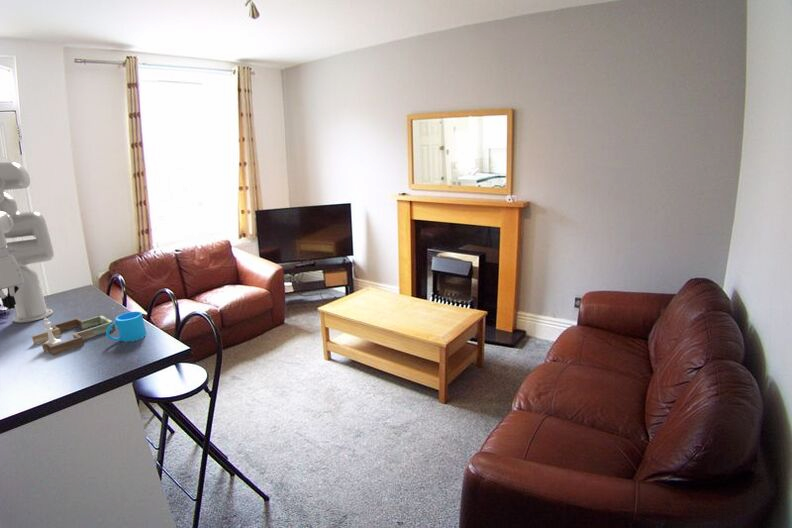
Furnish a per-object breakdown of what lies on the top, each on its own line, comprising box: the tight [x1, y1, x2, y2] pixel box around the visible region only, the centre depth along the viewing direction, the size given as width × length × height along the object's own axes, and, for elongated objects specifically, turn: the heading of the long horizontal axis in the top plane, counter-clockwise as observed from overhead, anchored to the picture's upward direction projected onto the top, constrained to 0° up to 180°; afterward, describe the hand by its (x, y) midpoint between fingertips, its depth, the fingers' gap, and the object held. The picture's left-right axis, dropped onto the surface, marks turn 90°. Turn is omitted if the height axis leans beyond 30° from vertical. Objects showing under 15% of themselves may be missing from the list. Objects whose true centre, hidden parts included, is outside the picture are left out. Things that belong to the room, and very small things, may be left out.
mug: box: [105, 311, 147, 342], centre depth 156 cm, size 12×8×8 cm
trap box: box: [31, 314, 116, 356], centre depth 160 cm, size 22×22×3 cm
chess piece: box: [43, 317, 63, 345], centre depth 154 cm, size 5×5×10 cm
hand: (10, 307), depth 145 cm, fingers closed
